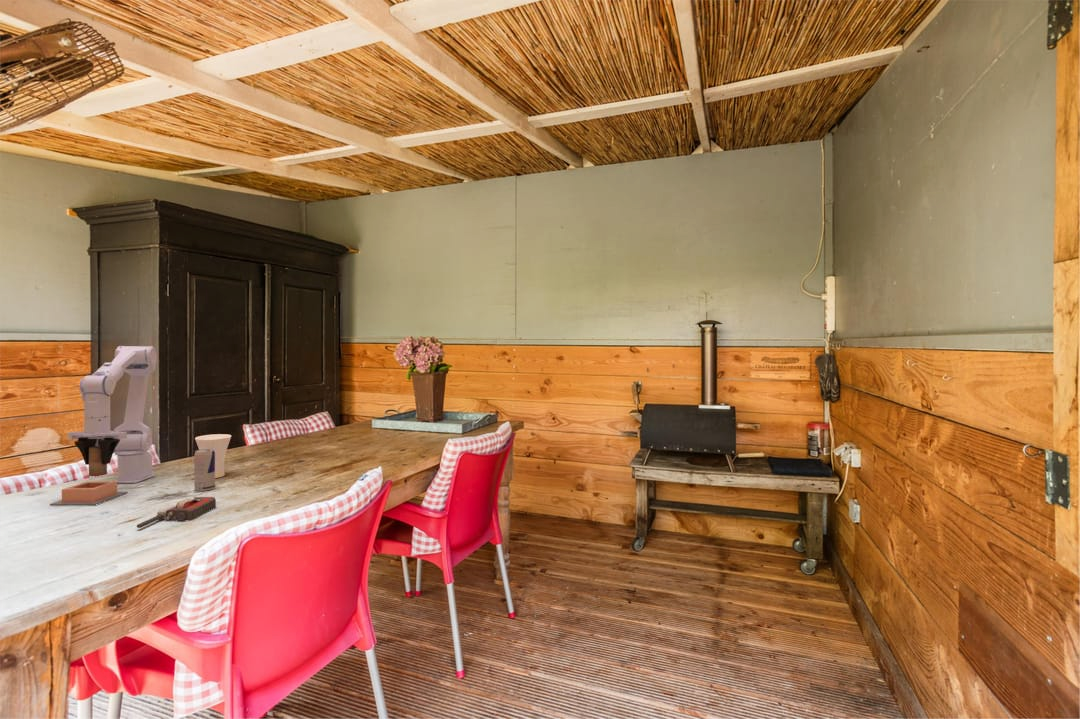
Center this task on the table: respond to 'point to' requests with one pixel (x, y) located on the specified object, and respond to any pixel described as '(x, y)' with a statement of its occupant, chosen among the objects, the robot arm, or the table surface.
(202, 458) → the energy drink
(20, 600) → the table surface
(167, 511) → the walkie-talkie
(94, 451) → the walnut peg
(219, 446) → the cup
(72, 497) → the socket
